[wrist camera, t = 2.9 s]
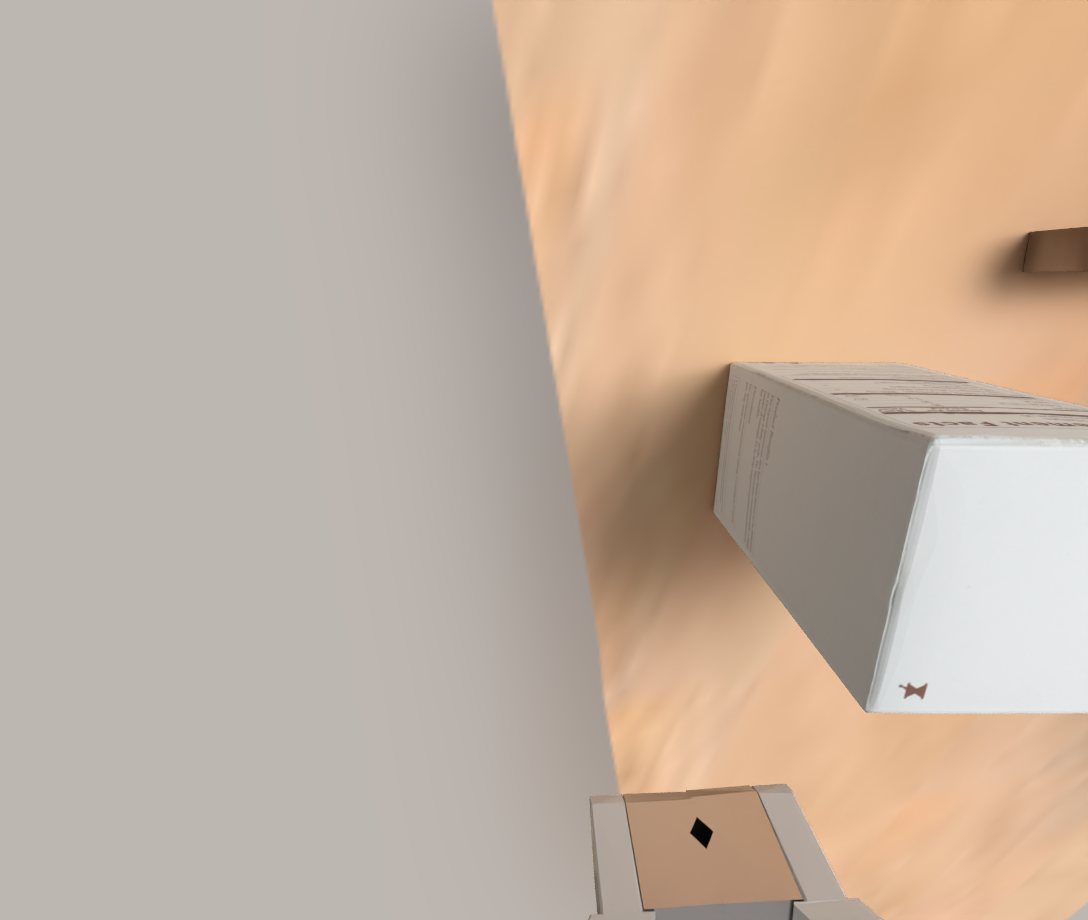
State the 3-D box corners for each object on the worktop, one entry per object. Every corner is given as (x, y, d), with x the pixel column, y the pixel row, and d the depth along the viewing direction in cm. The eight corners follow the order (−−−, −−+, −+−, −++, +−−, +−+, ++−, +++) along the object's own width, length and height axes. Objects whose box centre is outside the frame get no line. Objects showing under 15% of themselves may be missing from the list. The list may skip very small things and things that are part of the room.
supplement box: (864, 516, 26) (1150, 726, 14) (708, 513, 26) (857, 723, 14) (900, 358, 23) (1285, 444, 11) (728, 354, 23) (931, 438, 11)
